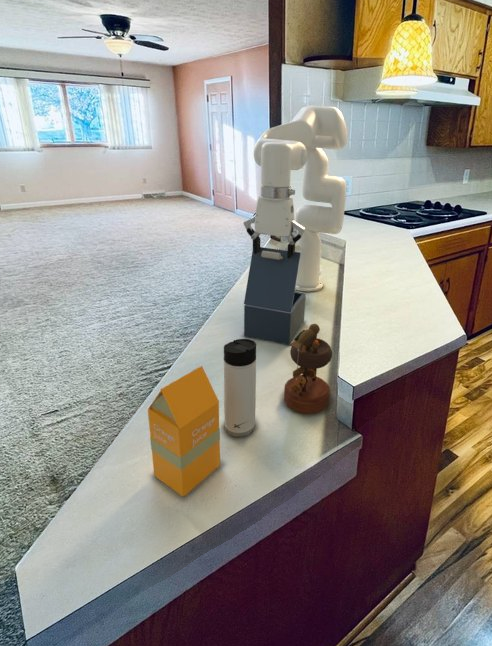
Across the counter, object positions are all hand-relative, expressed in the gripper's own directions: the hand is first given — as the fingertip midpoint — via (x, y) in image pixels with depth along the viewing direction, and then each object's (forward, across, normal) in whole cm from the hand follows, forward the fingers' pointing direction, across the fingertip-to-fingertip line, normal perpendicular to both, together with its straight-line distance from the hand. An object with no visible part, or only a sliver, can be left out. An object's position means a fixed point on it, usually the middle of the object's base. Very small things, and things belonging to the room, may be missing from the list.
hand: (273, 254), depth 113 cm
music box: (+25, -18, +26) cm, 40 cm away
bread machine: (+25, 0, -4) cm, 26 cm away
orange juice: (+24, -3, +54) cm, 59 cm away
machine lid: (+7, 0, 0) cm, 7 cm away
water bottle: (+26, +5, -31) cm, 41 cm away
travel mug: (+25, -8, +40) cm, 48 cm away
